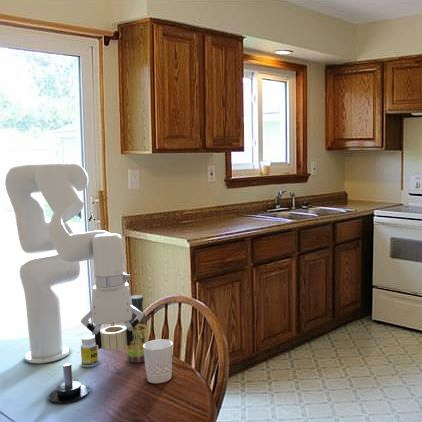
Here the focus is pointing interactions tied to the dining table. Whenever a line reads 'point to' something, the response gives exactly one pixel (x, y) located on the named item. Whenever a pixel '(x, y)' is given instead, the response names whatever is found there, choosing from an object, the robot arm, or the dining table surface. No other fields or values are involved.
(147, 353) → the white cup
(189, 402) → the dining table surface
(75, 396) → the tape stand
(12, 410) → the dining table surface
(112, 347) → the tape roll
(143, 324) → the sauce bottle
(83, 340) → the supplement bottle
